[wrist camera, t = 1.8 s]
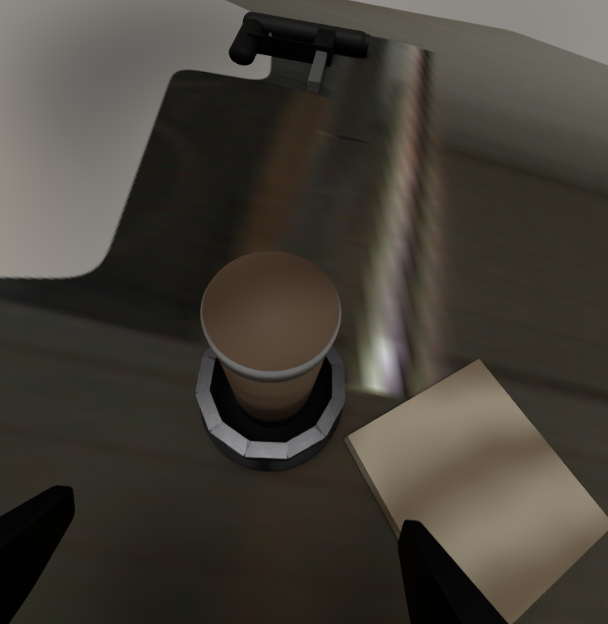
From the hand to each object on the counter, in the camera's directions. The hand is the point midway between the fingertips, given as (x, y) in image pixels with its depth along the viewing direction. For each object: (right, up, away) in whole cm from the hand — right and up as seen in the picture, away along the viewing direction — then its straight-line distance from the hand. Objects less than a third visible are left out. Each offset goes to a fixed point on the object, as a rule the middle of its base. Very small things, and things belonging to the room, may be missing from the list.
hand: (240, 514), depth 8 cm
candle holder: (-1, -1, +14) cm, 14 cm away
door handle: (+1, +43, +40) cm, 59 cm away
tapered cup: (-1, 0, +13) cm, 14 cm away
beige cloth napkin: (+12, -6, +13) cm, 19 cm away
